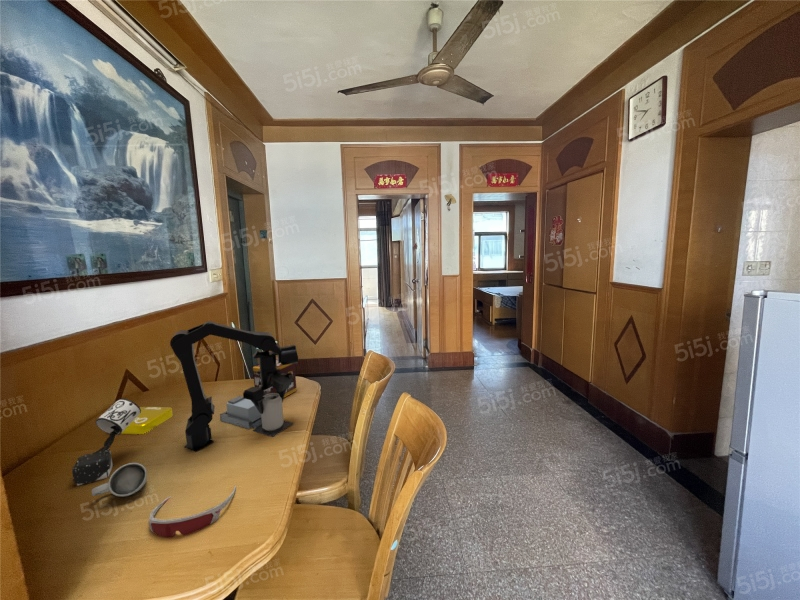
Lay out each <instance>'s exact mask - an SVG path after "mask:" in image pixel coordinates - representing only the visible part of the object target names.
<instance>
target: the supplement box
mask: <svg viewBox="0 0 800 600" xmlns="http://www.w3.org/2000/svg"><path fill="white" fill-rule="evenodd" d="M276 364H277V369H279V370H280V373H281V374H282V373H285V374H287V373H289V372H290V373H292V375H293V379H294V382H292V383H291V385H290V386H289V388H288V389H286V392H285V395H284V398H286V397H288V396H290V395H291V394H293V393H296V391H297V379H296V378H297V377H296V367H295V366H296V363H293V364H288V365H282V364H281V363H278V358H277V357H276ZM259 370H260V365H259V364H258V365H255V366H253V367H252V374H253V381H254V382H253V383H254V384H253V385H254V386H253V387H257V388H260V387H262V386H261V385H259V382H260V381H261V377H260V374H258V371H259ZM270 393H277V391H276V389H275V388H273V387H272V388H270V389H268V390H266V391H264V395H266V394H270Z"/></svg>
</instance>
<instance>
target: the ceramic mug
mask: <svg viewBox="0 0 800 600" xmlns="http://www.w3.org/2000/svg"><path fill="white" fill-rule="evenodd" d="M147 475H148V471H147V468H146V466H144V465H143V464H141V463H139V462H129V463H126V464H124V465H121V466H119V467H118V468H117V469H116V470H114V471H113V473H112V474H111V475H110V476H109V477H110V478H109V480H108V481H107V482H105V483H103V484H100V485H97V486H96V487H93V488H92V489H91V496H92V497H94V496H99V495H103V494H106V493H111V494H112V495H113V496H116V497H129V496H132V495H134V494H136V493H137V492H139V491H140V490H142V489H143V487H144V486H145V484H146V483H147V479H148V476H147Z"/></svg>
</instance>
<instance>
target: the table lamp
mask: <svg viewBox="0 0 800 600" xmlns="http://www.w3.org/2000/svg"><path fill="white" fill-rule="evenodd" d="M140 407H141V406H139V405H138V404H137V403H135V402H134V401H133V400H130V399H128V398H127V399H126V398H118V400H116V401H115V402H114V403H113V404H112V405H111V406H110V407H108V409H107V410H105V411H104V413H102V414H101V415H100V416H98V418H97V419H96V420H95V425H96V426H97V428H98V429H99V430H101V431H102V432H104V433H107V434H109V435H108V437H107V438H106V440H104V443H103V446H102V447H101V448H100V449H98V450H96V451H94V452H92V453H87V454H84V455H81V456H80V457H78V458H77V461H76V462H75V464H74V465H73V466H72V471H71V474H72V478H73V479H72V480H73V483H74V484H76V486H77V487H78V486H82V485H88V484H90V483H95V482H96V481H99V480H100V481H101V480H103V479H107V478H109V477H110V474H111V471H112V469H113V465H114V463H113V457H112V452H111V448H110V447H111V446H112V445H113V443H114V441H115V439H116V438H115V437H116V436H119V435H122V434H121V433H122V432H123V431H124V430H125V429H126V427H127V426H128V425H129V424H130V423H131V422H132V421H133V420H134V419H135V418H136V417H137V416H138V415H139V414H140V413H141V409H140Z"/></svg>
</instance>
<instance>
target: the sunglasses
mask: <svg viewBox="0 0 800 600" xmlns="http://www.w3.org/2000/svg"><path fill="white" fill-rule="evenodd" d="M236 488H237V486H236V484H235V485H234V487H233V490H232V492H231V493H230V495H229V496H228V497H227V498H226V499H225V500H223V501H222V502H221V503H219V504H218V505H216V506H212V507H211V508H209V509H207V510H203V511H202V512H199V513H196V514H192V515H189V516H184V517H179V518H170V519H160V518H156V517H155V515H156V513H157V512H158V510H159V509H160V508H161V507H162V506H163V505H164V504H165V503H166V502H168V500H169V499H170V498H171V497H172V496H170V495H169V496H168V497H166V498H165V499H164V500H162V501H161V502H160V503H159V504H158V505H157V506H156V507H154V508H153V509H152V511H151V512H150V514H149V518H148V526H149V529H150V531H151V532H152V533H153V534H155V535H156V536H158V537H161V538H162V537H163V538H173V537H174V535H175V534H176V532H179V533H180V534H181V535H183V536H188V535H190V534H192V533H196V532H199V531H200V530H202V529H204V528H206V527H207V526H210V525H212V523H215V522H217V521H218V519H219V517H220V514H221V511H223V509H224V508H225V507H227V506H228V505H229V503H230V501H231V500H232V499H233V496H234V495H235V492H236Z"/></svg>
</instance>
